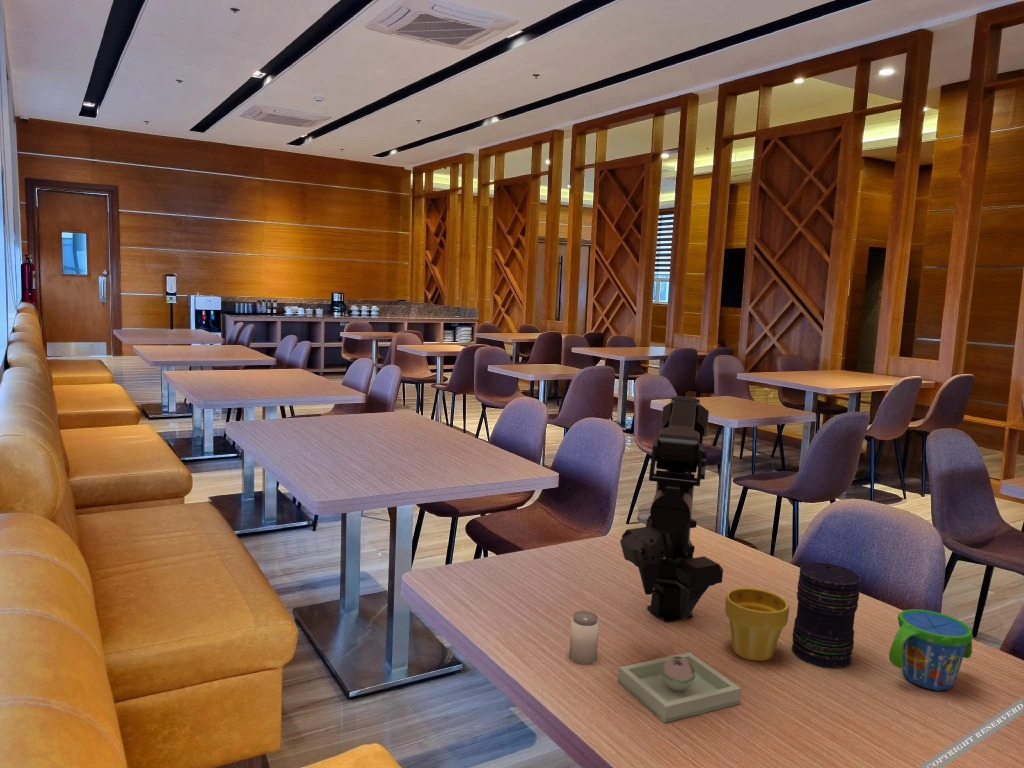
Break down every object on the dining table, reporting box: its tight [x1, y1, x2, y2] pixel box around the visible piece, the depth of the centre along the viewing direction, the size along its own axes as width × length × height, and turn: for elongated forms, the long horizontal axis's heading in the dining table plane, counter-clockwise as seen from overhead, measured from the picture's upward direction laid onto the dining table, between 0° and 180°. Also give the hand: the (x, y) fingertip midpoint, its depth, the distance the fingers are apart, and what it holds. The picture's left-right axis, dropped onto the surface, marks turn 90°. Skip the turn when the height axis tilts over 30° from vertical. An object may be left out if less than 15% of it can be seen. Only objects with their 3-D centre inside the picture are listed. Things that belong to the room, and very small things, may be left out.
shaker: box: [568, 610, 600, 665], centre depth 126 cm, size 5×5×7 cm
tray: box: [617, 651, 742, 724], centre depth 117 cm, size 14×12×2 cm
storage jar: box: [791, 562, 861, 670], centre depth 131 cm, size 10×10×15 cm
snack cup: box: [888, 608, 974, 692], centre depth 124 cm, size 16×10×10 cm
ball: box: [662, 657, 695, 691], centre depth 116 cm, size 5×5×5 cm
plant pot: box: [724, 587, 790, 662], centre depth 131 cm, size 10×10×10 cm
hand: (665, 605), depth 121 cm, fingers open, 9 cm apart
